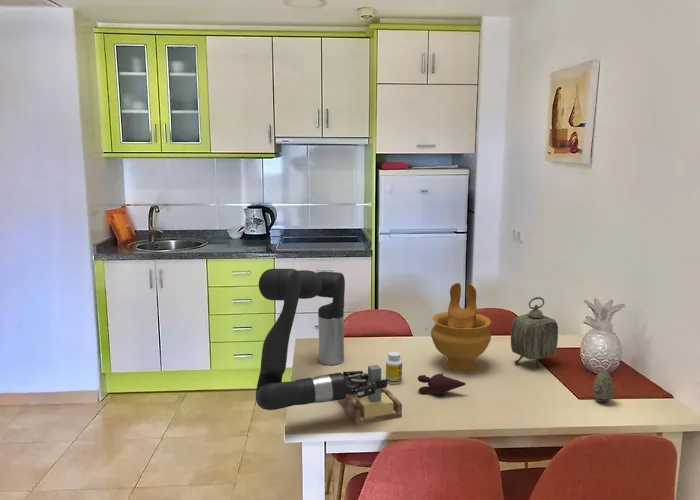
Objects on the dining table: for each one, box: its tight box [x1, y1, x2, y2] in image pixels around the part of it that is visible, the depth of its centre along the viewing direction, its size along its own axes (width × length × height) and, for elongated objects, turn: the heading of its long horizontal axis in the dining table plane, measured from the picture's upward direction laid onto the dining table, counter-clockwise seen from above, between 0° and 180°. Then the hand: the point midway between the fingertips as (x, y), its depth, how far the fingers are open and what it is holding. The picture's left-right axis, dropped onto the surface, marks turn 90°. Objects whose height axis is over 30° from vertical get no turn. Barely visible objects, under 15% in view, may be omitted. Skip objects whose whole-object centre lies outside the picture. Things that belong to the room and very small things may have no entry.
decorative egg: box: [592, 370, 615, 404], centre depth 174 cm, size 6×6×10 cm
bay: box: [338, 380, 403, 425], centre depth 171 cm, size 18×14×6 cm
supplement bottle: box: [385, 351, 403, 385], centre depth 190 cm, size 5×5×10 cm
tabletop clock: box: [510, 296, 559, 368], centre depth 202 cm, size 14×9×25 cm, turn 115°
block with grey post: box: [356, 364, 393, 418], centre depth 166 cm, size 7×9×14 cm
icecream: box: [417, 372, 466, 396], centre depth 180 cm, size 7×7×15 cm
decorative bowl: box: [430, 282, 492, 372], centre depth 202 cm, size 21×21×30 cm
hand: (382, 379), depth 166 cm, fingers open, 5 cm apart
